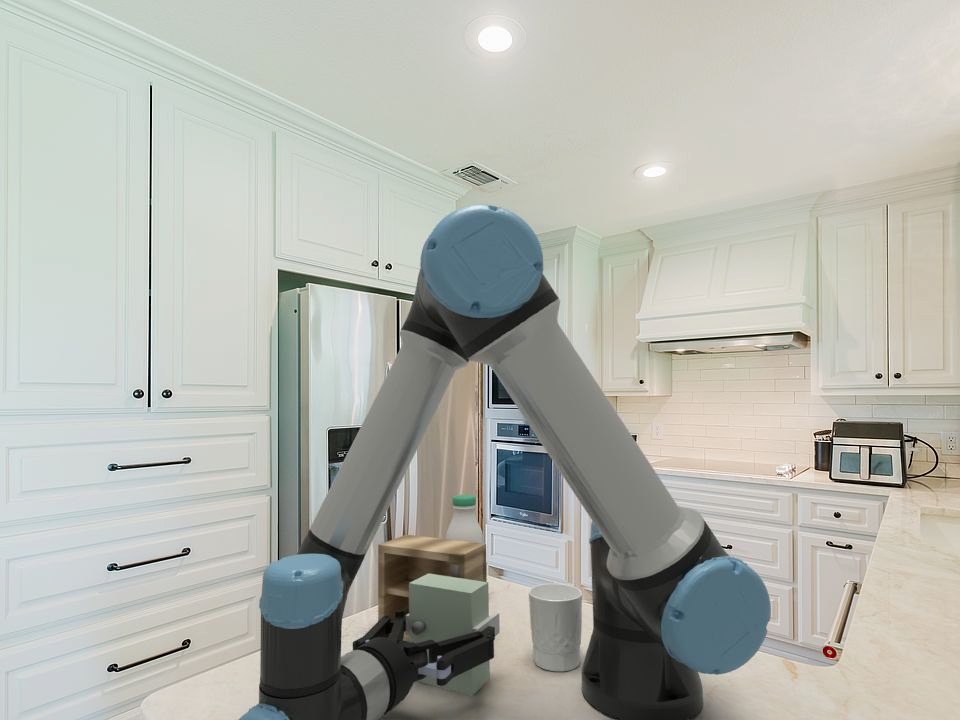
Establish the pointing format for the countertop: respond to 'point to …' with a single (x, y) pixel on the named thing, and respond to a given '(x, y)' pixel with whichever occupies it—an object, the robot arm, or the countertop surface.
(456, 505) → the milk bottle
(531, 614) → the white cup
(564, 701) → the countertop surface
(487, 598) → the door panel
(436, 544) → the cabinet
